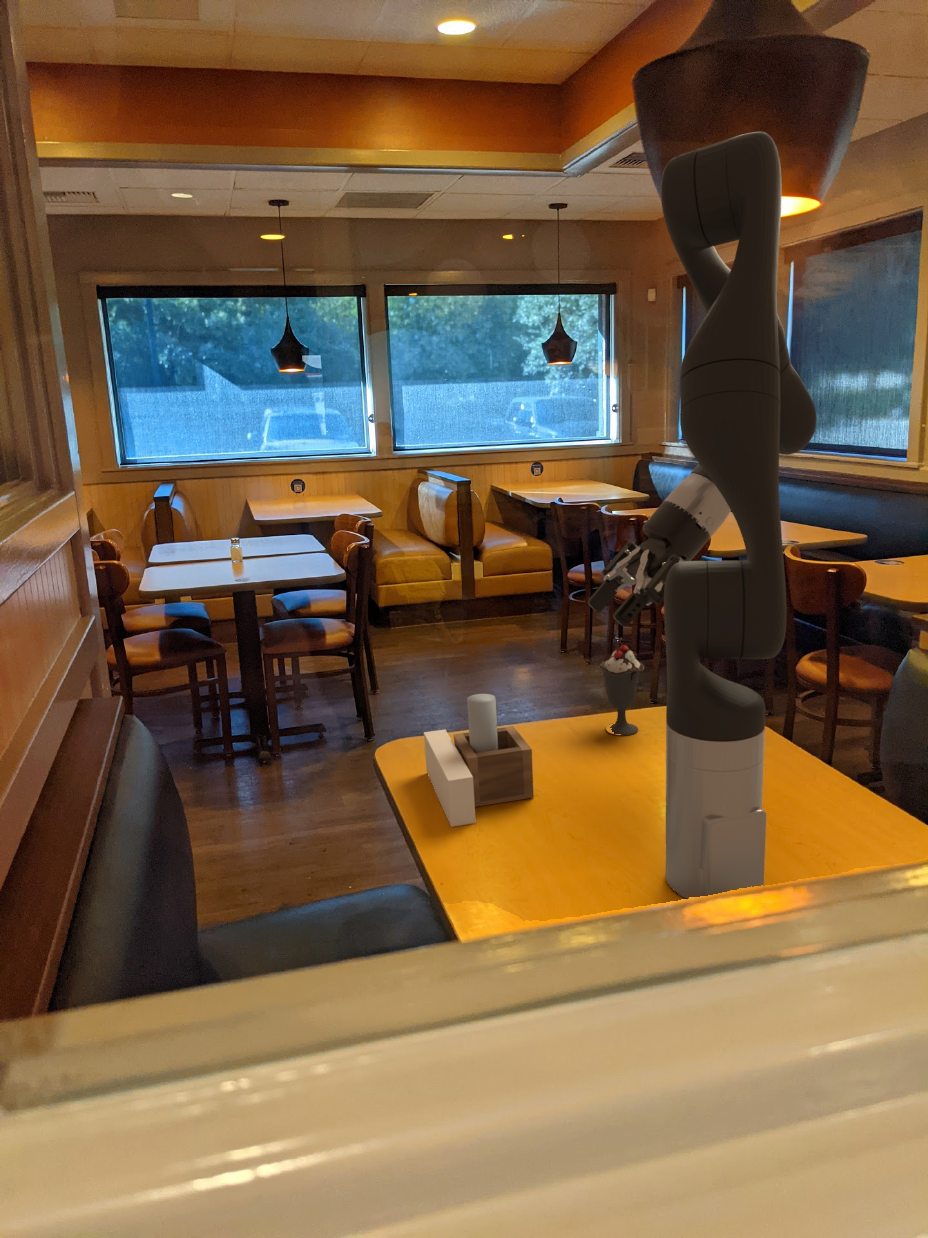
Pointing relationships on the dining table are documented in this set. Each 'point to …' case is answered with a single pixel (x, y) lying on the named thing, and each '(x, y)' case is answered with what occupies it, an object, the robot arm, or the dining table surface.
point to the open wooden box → (499, 768)
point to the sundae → (622, 685)
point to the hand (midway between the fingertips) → (605, 614)
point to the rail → (450, 778)
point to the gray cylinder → (482, 722)
